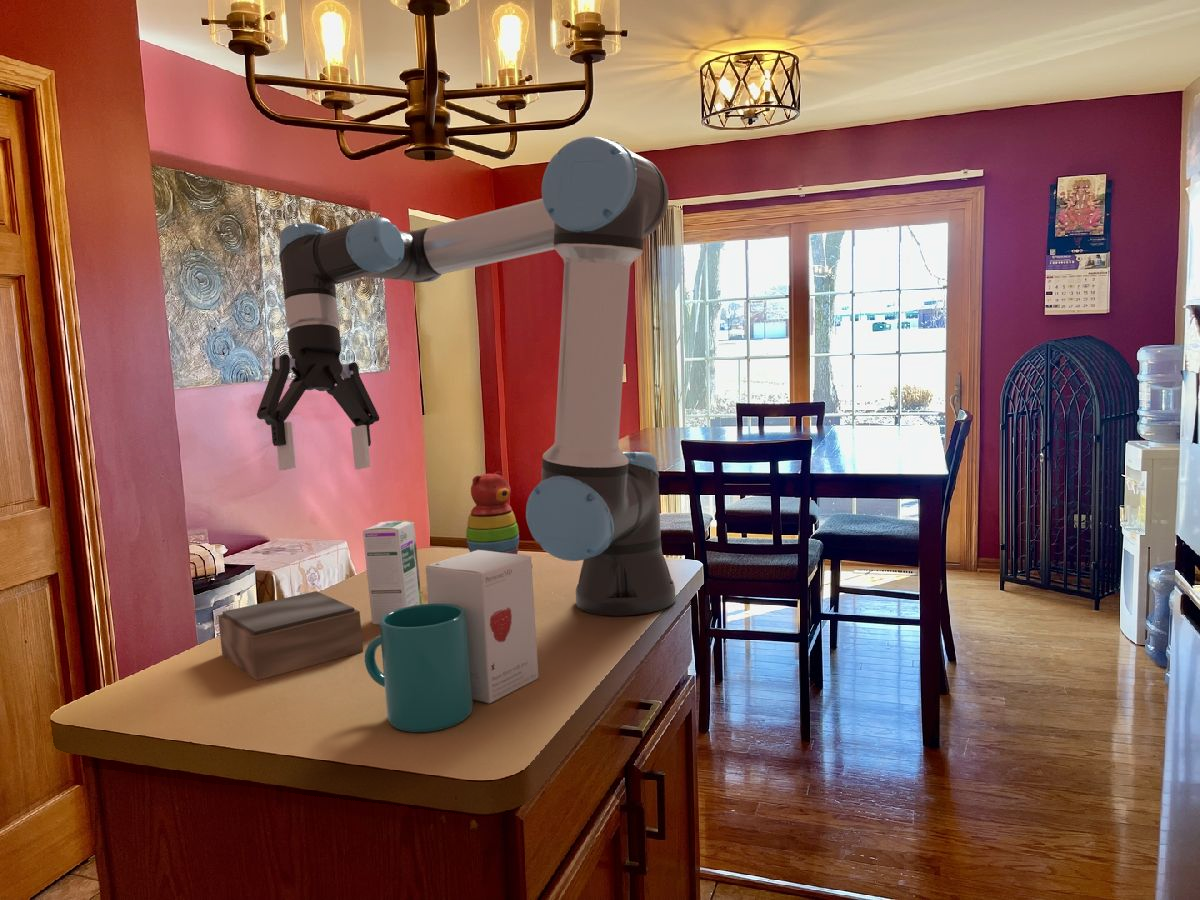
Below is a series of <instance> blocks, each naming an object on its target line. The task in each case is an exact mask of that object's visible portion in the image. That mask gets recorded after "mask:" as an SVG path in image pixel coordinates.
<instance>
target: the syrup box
mask: <svg viewBox="0 0 1200 900" xmlns="http://www.w3.org/2000/svg"><path fill="white" fill-rule="evenodd" d="M362 536H363V537H362V538H363V547H364V555H365V567H366V576H367V577H366V578H367V585H368V593H369V595H368V597H369V603H370V604H369V605H370V614H371V623H372V625H379V621H380V619H381V618H382V617H383V616H384V615H385V614H387V613H389V612H392V611H394V610H397V609H400V608H404V607H409V606H414V605H421V604H423V603H422V593H421V591H422V590H421V582H420V571H419V570H420V569H419V560H418V551H417V549H418V548H417V541H416V539H417V538H416V531H415V523H414V521H412V520H388V521H387V520H386V521H379V522H378V524H374V525H373V526H370V527H368V528H365V529H363V530H362ZM379 626H380V625H379Z"/></svg>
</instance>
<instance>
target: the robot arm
mask: <svg viewBox="0 0 1200 900" xmlns="http://www.w3.org/2000/svg"><path fill="white" fill-rule="evenodd" d="M666 182H667V181H666V179H665V178H664V176H663V173H662V172H661V171H660V170H659V168H658V166H656V165H655V164H654V163H653V162H652V161H650V160H648V159H647V158H645V157H643V156H642V155H639V154H636V153H635V152H633V151H631V150H629V149H628V148H627V147H626V146H623V144H621V143H620V142H618V141H616V140H613V139H605V138H603V137H600V136H583V137H579V138H576V139H573V140H572V141H570V142H568V143H566V144H564V145H563V146H562V148H560V149H559V150H558V152H557V153H555V154H554V155H553V156H552V157H551V159H550V161H549V162H548V164H547V165H546V168H545V171H544V173H543V177H542V181H541V198H539V199H535V200H531V201H527V202H523V203H519V204H514V205H512V206H507V207H504V208H503V207H502V208H499V209H495V210H491V211H487V212H484V213H483V212H482V213H480V214H476V215H472V216H467V217H463V218H460V219H456V220H451V221H447V222H444V223H440V224H439V223H438V224H436V225H433V226H432V225H431V226H430V227H425V228H421V229H416V230H412V231H402V230H399V229H398V226H396V225H395V224H393V223H391V221H390V220H389V219H388V218H386V217H382V216H380V217H379V216H377V217H373V218H368V219H367V218H365V219H361V220H359V221H356V222H354V223H353V224H349V225H346V226H343V227H340V228H338V229H337V228H336V229H334V230H332V231H329V229H328V228H327V227H325V226H323V225H321V224H318V223H313V222H303V223H292V224H290V225H287V226H285V227H284V228H283V229H282V230H281V231H280V233H279V253H278V260H279V263H280V270H281V278H282V285H283V286H282V287H283V299H284V311H285V312H284V313H285V321H286V327H287V328H288V329H289V330H288V331H287V335H286V336H287V345H288V346H287V347H288V353H289V355H290V356H291V357H290V356H289V355H288V354H286V353H285V354H281V355H279V356H275V357H273V358H272V360H271V374H270V377H269V379H268V382H267V385H266V387H265V390H264V393H263V396H262V399H261V401H260V403H259V407H258V408H257V411H256V417H257V419H258V420H264V421H265V425H267V426H270V428H271V429H270V431H271V437H272V439H271V441H272V444H273V446H274V447H276V450H277V459H278V460H277V461H278V471H286V470H291V469H295V468H296V458H295V457H296V456H295V448H294V447H295V445H294V436H293V424H292V421H286V420H287V418H288V417H289V416H290V414H291V413H292V411H293V409H294V408H295V407H296V405H297V403H298V402H299V401H300V399H301V398H302V396H303V395H304V394H305V392H306V391H312V390H315V391H319V392H327V394H328V395H330V396H332V397H333V398H334V400H335V401H336V402H337V404H338V405H339V406H340V408H341V409H342V411H343V412H344V413H345V414H346V416H347V417H348V419H349V420H350V421H351V422H352V424H354V426H353V427H350V432H351V433H350V434H351V443H352V452H353V463H354V470H362V469H367V468H371V459H370V457H371V456H370V450H369V449H370V448H369V447H371V444H372V439H371V432H370V431H371V430H370V428H371V427H370V426H371V425H374V423H376V422H379V420H380V415H379V413H378V411H377V409H376V407H375V405H374V402H373V401H372V399H371V397H370V394H369V392H368V391H367V389H366V387H365V385H364V382H363V380H362V378H361V376H360V371H359V366H358V363H357V362H356V361H353V362H350V363H345V364H343V363H341V360H340V354H341V352H342V342H341V341H342V340H341V333H340V332H341V331H340V329H338V326H339V324H340V320H339V311H338V302H337V301H338V300H337V292H336V285H338V284H343V283H346V282H349V281H352V280H357V279H362V278H374V279H376V278H377V279H385V280H396V281H404V282H405V281H407V282H412V283H416V284H420V283H430V282H433V281H434V282H435V280H437V279H439V278H440V277H441V276H442V275H444V274H448V273H453V272H458V271H463V270H468V269H473V268H477V267H482V266H485V265H490V264H495V263H499V262H504V261H510V260H512V259H517V258H521V257H526V256H532V255H536V254H541V253H545V252H549V251H553V250H555V251H556V252H557V254H558V255H559V256H560V258H561V259H562V260H563V264H564V267H563V283H562V284H563V285H562V298H561V299H562V303H561V318H560V319H561V320H560V336H559V337H560V338H559V339H560V340H559V356H558V358H559V359H558V373H557V374H558V376H557V393H556V394H557V396H556V410H555V411H556V412H555V413H556V414H555V430H554V443H553V444H552V445H551V446H550V448H548V449H546V451H545V452H544V453H543V454H542V461H541V463H542V465H541V480H540V481H539V483H538V484H536V486H535V487H534V488H533V490H532V491H531V492H530V494H529V497H528V499H527V502H526V505H525V507H526V509H525V520H526V524H527V526H528V529H529V533H530V534H531V536H532V538H533V539H534V540H535V542H536V543H537V544H539V546H540V547H541V549H543V551H545V552H546V553H548V554H549V555H551V556H552V557H554V558H557V559H558V560H559V559H560V560H563V561H567V562H569V561H570V562H579V561H582V565H581V568H580V573H579V578H578V584H577V585H576V588H575V602H576V603H575V604H576V607H577V608H578V609H579V610H582V611H583V612H586V613H589V614H595V615H601V616H615V617H616V616H619V617H620V616H633V615H636V616H637V615H643V614H648V613H649V614H651V613H654V612H657V611H660V610H663V609H666V608H669V607H670V606H672V605H673V604H674V603H675V602H676V585H675V583H674V580H673V579H672V576H671V573H670V570H669V567H668V564H667V561H666V559H665V556H664V553H663V551H662V550H663V549H662V539H661V538H662V537H661V535H662V534H661V532H662V531H661V513H660V512H661V510H660V509H661V508H660V492H659V491H660V489H659V478H660V474H659V471H658V464H657V459H656V457H655V455H654V454H653V453H652V452H651V453H650V452H646V451H634V452H633V451H622V450H621V449H620V446H619V442H620V426H621V413H622V411H621V410H622V398H623V397H622V395H623V393H622V392H623V383H624V382H623V380H624V379H623V378H624V377H623V376H624V365H625V364H624V363H625V352H626V351H625V349H626V335H627V334H626V333H627V320H628V319H627V318H628V303H629V302H628V301H629V289H630V287H629V286H630V272H631V266H632V264H633V263H634V262H635V261H636V260H637V259H638V258H639V257H640V256H641V255H642V254H643V252H644V242H645V241H644V239H645V238H646V237H648V236H650V235H651V234H653V232H655V231H656V230H657V229H658V227H659V226H660V225H661V223H662V222H663V220H664V218H665V216H666V213H667V211H668V206H669V190H668V185H667V183H666ZM290 371H292V372H293V374H294V378H293V379H292V380H291V382H290V383H289V385H288V387H289V388H288V389H287V390H286V392H285V393H284V395H283V396H282V394H283V391H284V389H285V386H286V383H287V381H288V378H289V375H290ZM285 421H286V422H285Z"/></svg>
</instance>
